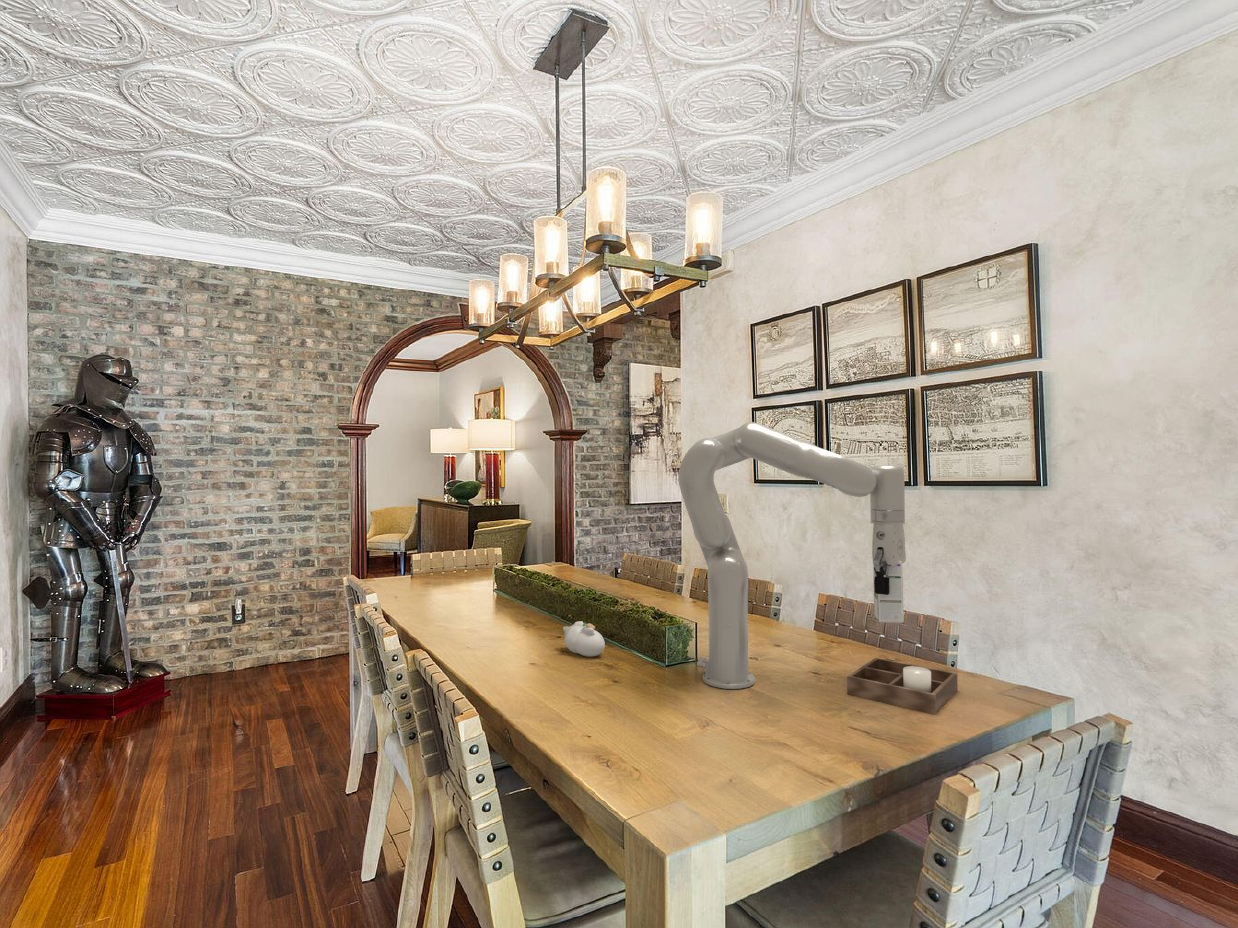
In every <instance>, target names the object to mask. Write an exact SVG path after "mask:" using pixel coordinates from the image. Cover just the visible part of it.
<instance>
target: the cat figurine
mask: <svg viewBox="0 0 1238 928" xmlns="http://www.w3.org/2000/svg"><path fill="white" fill-rule="evenodd" d="M595 629H596V626H595V625H593V624H592V623H590V622H589V623H587V622H583V620H581V621H579V620H578V621H575V622H574V623H573V624H571V625H570V626H562V631H563V633H564V636H563V637H564V638H563V639H564V644H565V646H566V647H567V649H569V651H570V652H572V653H574V654H579V655H581V656H584V657H587V658H591V657H596V656H599V655H600V654H602V653H603V652H604V650H605V647H606V643H605V639H604V637H603V635H602V634H601V633H600V632H598V631H597V630H595Z"/></svg>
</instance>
